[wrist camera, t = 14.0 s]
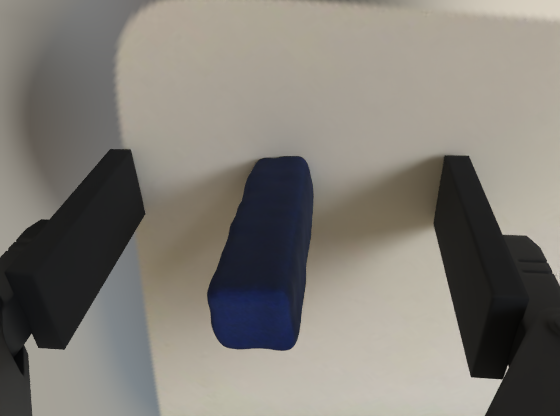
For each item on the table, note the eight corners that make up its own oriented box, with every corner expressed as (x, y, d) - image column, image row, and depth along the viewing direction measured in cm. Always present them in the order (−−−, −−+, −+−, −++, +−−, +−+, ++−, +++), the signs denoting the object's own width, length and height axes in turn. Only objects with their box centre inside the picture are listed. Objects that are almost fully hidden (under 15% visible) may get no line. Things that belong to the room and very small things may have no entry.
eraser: (315, 207, 18) (300, 358, 12) (255, 207, 18) (212, 354, 13) (313, 154, 17) (296, 294, 11) (248, 154, 17) (199, 291, 11)
